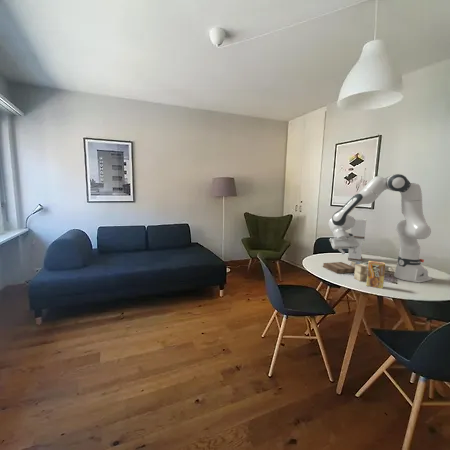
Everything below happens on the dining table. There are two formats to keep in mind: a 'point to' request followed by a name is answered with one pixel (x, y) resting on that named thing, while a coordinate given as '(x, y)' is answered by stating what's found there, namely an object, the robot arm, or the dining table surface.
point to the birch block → (360, 272)
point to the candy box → (375, 274)
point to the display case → (359, 234)
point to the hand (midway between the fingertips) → (349, 253)
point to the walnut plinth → (339, 267)
